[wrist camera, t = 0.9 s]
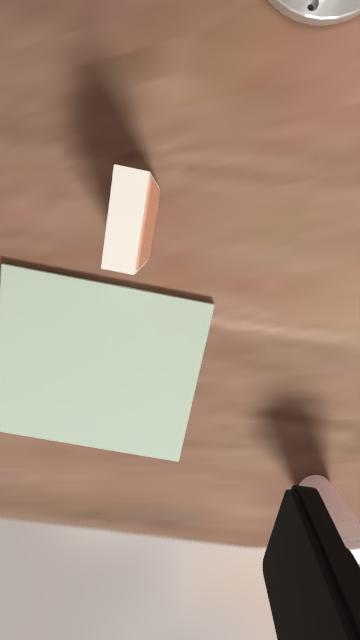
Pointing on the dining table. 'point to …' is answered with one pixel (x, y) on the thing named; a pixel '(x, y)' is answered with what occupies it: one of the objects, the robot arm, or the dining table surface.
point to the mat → (98, 362)
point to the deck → (130, 220)
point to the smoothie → (338, 513)
